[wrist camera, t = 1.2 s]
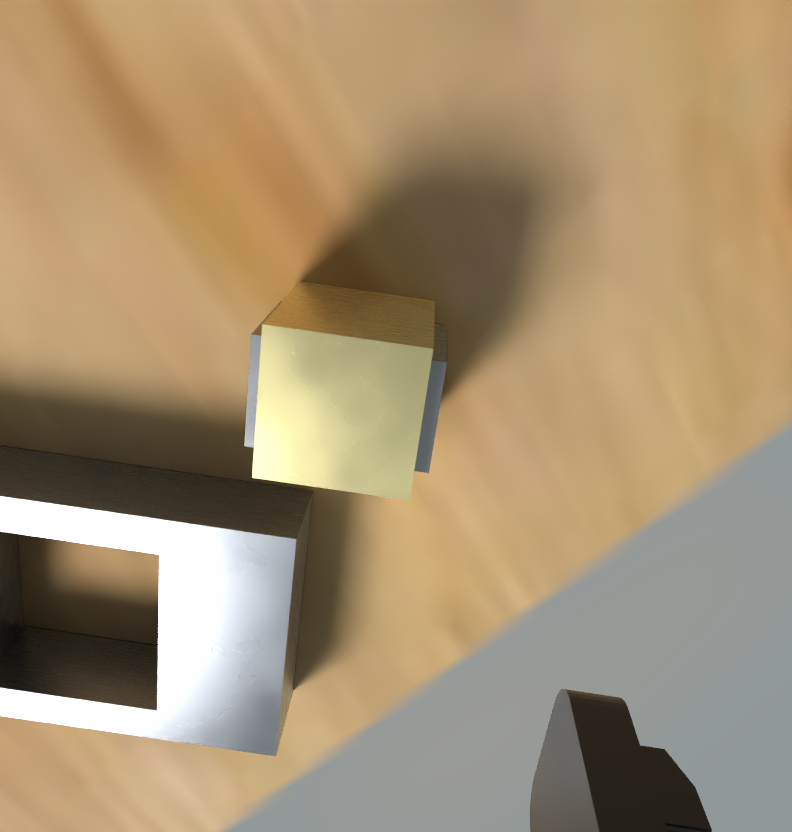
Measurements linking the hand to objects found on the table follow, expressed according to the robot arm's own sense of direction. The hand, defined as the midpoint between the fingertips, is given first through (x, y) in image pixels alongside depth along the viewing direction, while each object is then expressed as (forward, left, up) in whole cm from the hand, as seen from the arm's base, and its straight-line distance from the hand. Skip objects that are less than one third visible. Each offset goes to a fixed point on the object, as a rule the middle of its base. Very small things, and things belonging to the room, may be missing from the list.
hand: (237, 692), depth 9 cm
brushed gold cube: (0, 0, -14) cm, 14 cm away
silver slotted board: (+9, -12, -14) cm, 20 cm away
